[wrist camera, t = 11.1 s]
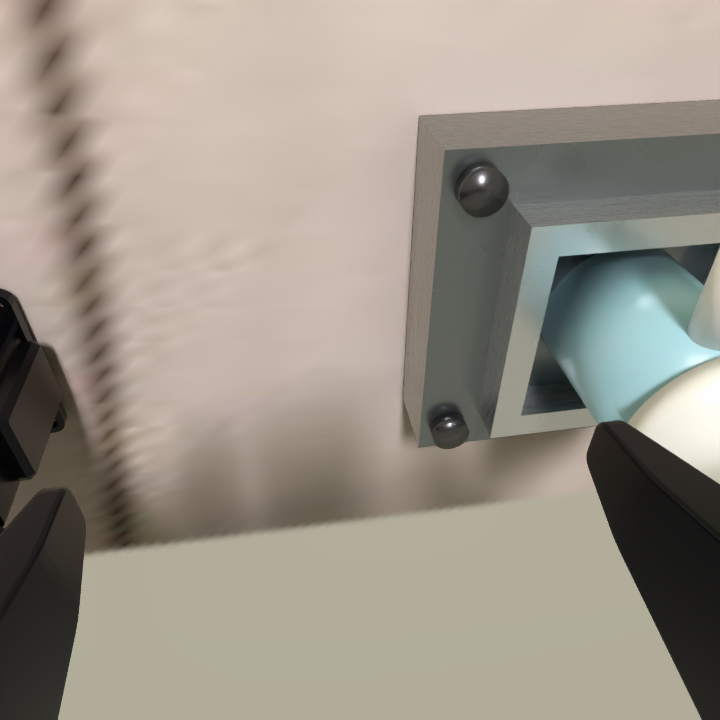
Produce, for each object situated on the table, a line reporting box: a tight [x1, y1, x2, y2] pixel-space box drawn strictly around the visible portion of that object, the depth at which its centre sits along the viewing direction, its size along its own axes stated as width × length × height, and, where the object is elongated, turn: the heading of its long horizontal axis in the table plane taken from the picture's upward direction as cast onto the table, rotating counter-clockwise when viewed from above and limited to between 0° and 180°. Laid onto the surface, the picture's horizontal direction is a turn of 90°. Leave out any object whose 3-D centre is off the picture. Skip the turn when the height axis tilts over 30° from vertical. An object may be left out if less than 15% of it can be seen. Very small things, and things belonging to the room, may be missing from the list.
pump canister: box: [541, 248, 720, 484], centre depth 17 cm, size 5×8×7 cm
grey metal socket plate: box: [403, 100, 720, 449], centre depth 21 cm, size 13×12×4 cm
